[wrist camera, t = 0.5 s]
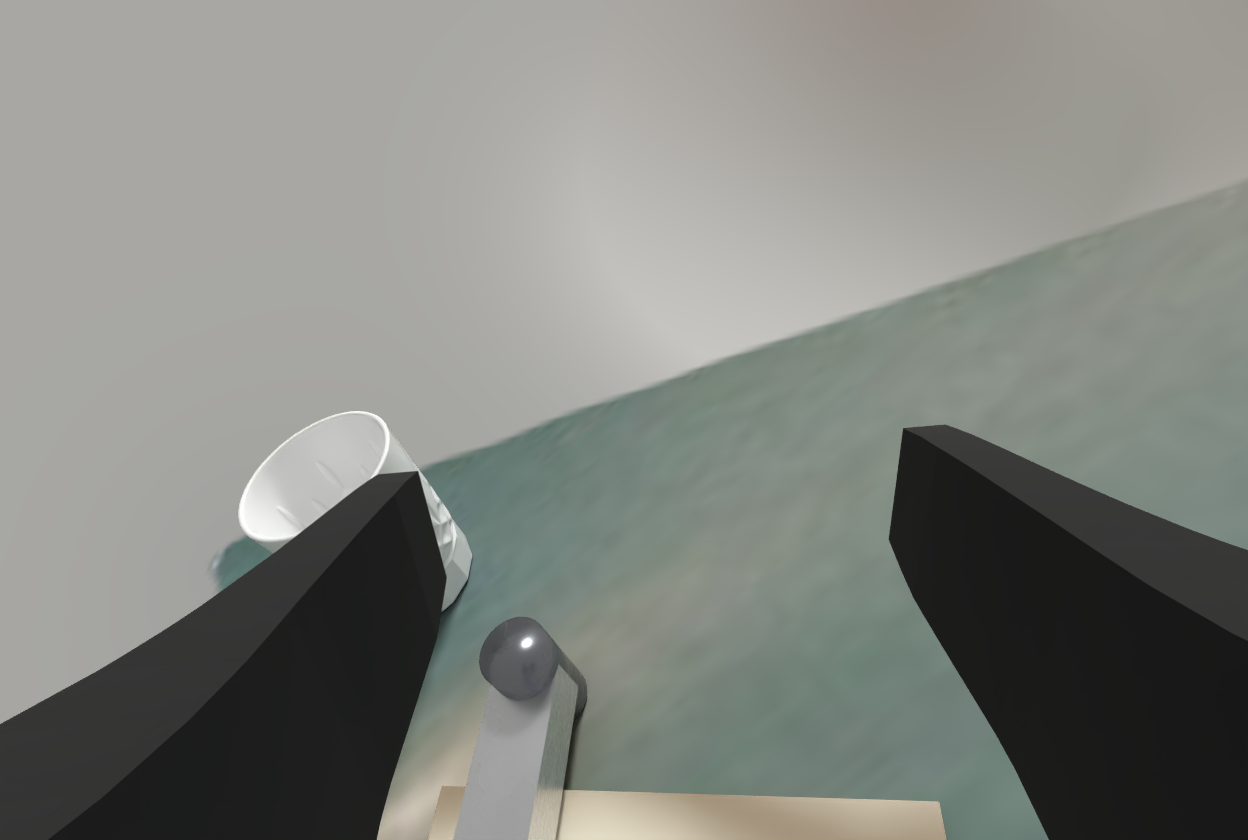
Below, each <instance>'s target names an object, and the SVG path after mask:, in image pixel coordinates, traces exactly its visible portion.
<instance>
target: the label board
mask: <svg viewBox="0 0 1248 840" xmlns="http://www.w3.org/2000/svg"><path fill="white" fill-rule="evenodd" d="M465 788H466V787H453V786H442V788H441V792H440V796H439V799H438V803H437V807H436V811H435V815H434V818H433V822H432V826H431V830H430V834H429V837H428V840H453V838H454V834H455V830H456V826H457V822H458V817H459V813H460V809H461V805H462V801H463V797H464V793H465ZM555 840H946V835H945V830H944V825H943V819H942V814H941V809H940V804H939V802H933V801H901V800H869V799H837V798H805V797H773V796H741V795H709V794H677V793H645V792H613V791H581V790H563V792H562V799H561V806H560V812H559V819H558V826H557V832H556V839H555Z"/></svg>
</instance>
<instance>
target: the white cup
mask: <svg viewBox="0 0 1248 840" xmlns="http://www.w3.org/2000/svg"><path fill="white" fill-rule="evenodd" d="M410 471H418V472H419V476H420V479H421V483H422V487H423V491H424V494H425V498H426V502H427V505H428V509H429V513H430V516H431V520H432V524H433V528H434V531H435V535H436V539H437V542H438V546H439V550H440V553H441V557H442V561H443V565H444V568H445V572H446V576H447V580H446V587H445V593H444V600H443V606H442V612H443V611H444V610H445V609H446V608H447V607H448V606H450V605H451V604H452V603H453V602H454V601H455V599H456V597H457V596H458V594H459V593H460V591H461V589H462V588H463V586H464V585H465V583H466V581H467V580H468V577H469V571H470V566H471V560H472V553H471V550H470V548H469V545H468V542H467V539H466V537H465V535H464V534H463V533H462V531H461V530H460V529H459V527H458V526H457V525H456V523H455V522H454V521H453V519H452V518H451V516H450V514H449V512H448V510H447V509H446V507H445V506H444V504H443V503H442V501H441V500H440V499H439V498H438V496H437V495H436V493H435V491H434V490H433V488H432V487H431V485H430V484H429V482H428V481H427V479H426V478H425V477H424V475H423V474H422V473H421V471H420V470H419V469H418V467H417V466H416V465H415V463H414V462H413V460H412V459H411V458H410V456H409V455H408V454H407V452H406V451H405V450H404V448H403V447H402V446H401V444H400V443H399V442H398V440H397V439H396V437H395V436H394V435H393V433H392V432H391V431H390V429H389V428H388V426H387V425H386V424H385V422H384V421H383V420H382V419H381V418H380V417H378V416H376V415H374V414H372V413H368V412H362V411H353V412H345V413H341V414H336V415H333V416H330V417H327V418H324V419H322V420H320V421H317V422H315V423H313V424H312V425H310V426H308V427H306V428H304V429H303V430H301V431H299V432H298V433H296V434H295V435H293V436H292V437H291V438H289V439H288V440H287V441H285V442H284V443H283V444H281V445H280V446H279V447H278V448H277V449H276V450H275V451H274V452H273V453H272V454H270V455H269V456H268V458H267V459H266V460H265V461H264V462H263V463H262V464H261V466H260V467H259V468H258V469H257V470H256V472H255V473H254V475H253V476H252V478H251V479H250V481H249V482H248V484H247V486H246V488H245V490H244V492H243V495H242V497H241V500H240V504H239V511H238V519H239V524H240V526H241V528H242V530H243V532H244V533H245V534H246V535H247V536H248V537H250V538H251V539H253V540H254V541H255V542H257V543H258V544H260V545H261V546H262V547H264V548H265V549H267V550H268V551H269V552H271V553H272V554H273V553H275V552H276V551H277V550H279V549H280V548H281V547H282V546H284V545H285V544H286V543H288V542H289V541H290V540H291V539H293V538H294V537H295V536H297V535H298V534H299V533H300V532H302V531H303V530H304V529H306V528H307V527H308V526H309V525H311V524H312V523H313V522H315V521H316V520H317V519H318V518H320V517H321V516H322V515H323V514H325V513H326V512H327V511H328V510H330V509H331V508H332V507H334V506H335V505H336V504H337V503H339V502H340V501H341V500H343V499H344V498H345V497H346V496H348V495H349V494H350V493H352V492H353V491H354V490H356V489H357V488H358V487H360V486H361V485H362V484H364V483H365V482H367V481H368V480H370V479H371V478H373V477H374V476H376V475H378V474H387V473H399V472H410Z"/></svg>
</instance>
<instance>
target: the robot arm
mask: <svg viewBox="0 0 1248 840" xmlns="http://www.w3.org/2000/svg"><path fill="white" fill-rule="evenodd" d="M889 541H890V544H891V546H892V549H893V551H894V554H895V556H896V559H897V561H898V563H899V566H900V568H901V571H902V573H903V575H904V578H905V580H906V582H907V584H908V587H909V589H910V591H911V593H912V595H913V598H914V599H915V601H916V603H917V605H918V606H919V608H920V610H921V611H922V613H923V615H924V617H925V618H926V620H927V622H928V623H929V625H930V627H931V628H932V630H933V632H934V633H935V635H936V637H937V638H938V640H939V642H940V643H941V645H942V647H943V648H944V650H945V652H946V653H947V655H948V657H949V658H950V660H951V661H952V663H953V665H954V666H955V668H956V670H957V671H958V673H959V675H960V676H961V678H962V679H963V681H964V683H965V684H966V686H967V688H968V689H969V691H970V693H971V694H972V696H973V698H974V699H975V701H976V702H977V704H978V706H979V707H980V709H981V711H982V712H983V714H984V716H985V717H986V719H987V721H988V722H989V724H990V725H991V727H992V729H993V730H994V732H995V734H996V735H997V737H998V739H999V741H1000V743H1001V744H1002V746H1003V748H1004V750H1005V752H1006V754H1007V755H1008V757H1009V759H1010V761H1011V763H1012V764H1013V766H1014V768H1015V770H1016V772H1017V774H1018V776H1019V778H1020V780H1021V782H1022V785H1023V787H1024V789H1025V791H1026V793H1027V795H1028V797H1029V799H1030V801H1031V803H1032V805H1033V807H1034V809H1035V812H1036V814H1037V816H1038V818H1039V820H1040V822H1041V824H1042V826H1043V828H1044V830H1045V832H1046V834H1047V836H1048V839H1049V840H1248V550H1245V549H1243V548H1240V547H1237V546H1234V545H1231V544H1228V543H1225V542H1222V541H1219V540H1217V539H1214V538H1211V537H1209V536H1206V535H1203V534H1201V533H1198V532H1195V531H1192V530H1190V529H1187V528H1185V527H1182V526H1180V525H1177V524H1175V523H1172V522H1170V521H1167V520H1165V519H1162V518H1160V517H1157V516H1155V515H1152V514H1150V513H1148V512H1145V511H1143V510H1140V509H1138V508H1135V507H1133V506H1130V505H1128V504H1125V503H1123V502H1121V501H1118V500H1116V499H1114V498H1112V497H1109V496H1107V495H1105V494H1102V493H1100V492H1098V491H1095V490H1093V489H1091V488H1089V487H1086V486H1084V485H1082V484H1080V483H1077V482H1075V481H1073V480H1071V479H1069V478H1066V477H1064V476H1062V475H1060V474H1058V473H1055V472H1053V471H1051V470H1049V469H1047V468H1044V467H1042V466H1040V465H1038V464H1036V463H1034V462H1031V461H1029V460H1027V459H1025V458H1023V457H1021V456H1018V455H1016V454H1014V453H1012V452H1010V451H1008V450H1005V449H1003V448H1001V447H999V446H997V445H994V444H992V443H990V442H988V441H985V440H983V439H981V438H979V437H976V436H974V435H972V434H969V433H967V432H964V431H962V430H959V429H956V428H953V427H950V426H947V425H935V426H924V427H913V428H903V434H902V442H901V449H900V457H899V465H898V473H897V480H896V488H895V496H894V503H893V511H892V519H891V526H890V534H889ZM446 580H447V576H446V572H445V568H444V565H443V561H442V557H441V553H440V550H439V546H438V542H437V539H436V535H435V531H434V528H433V524H432V520H431V516H430V513H429V509H428V505H427V502H426V498H425V494H424V491H423V487H422V483H421V479H420V476H419V472H418V471H410V472H399V473H387V474H378V475H376V476H374V477H373V478H371V479H370V480H368V481H367V482H365V483H364V484H362V485H361V486H360V487H358V488H357V489H356V490H354V491H353V492H352V493H350V494H349V495H348V496H346V497H345V498H344V499H343V500H341V501H340V502H339V503H337V504H336V505H335V506H334V507H332V508H331V509H330V510H328V511H327V512H326V513H325V514H323V515H322V516H321V517H320V518H318V519H317V520H316V521H315V522H313V523H312V524H311V525H309V526H308V527H307V528H306V529H304V530H303V531H302V532H300V533H299V534H298V535H297V536H295V537H294V538H293V539H291V540H290V541H289V542H288V543H286V544H285V545H284V546H282V547H281V548H280V549H279V550H277V551H276V552H275V553H273V554H272V555H271V556H269V557H268V558H267V559H265V560H264V561H263V562H261V563H260V564H258V565H257V566H256V567H254V568H253V569H252V570H250V571H249V572H247V573H246V574H245V575H243V576H242V577H240V578H239V579H238V580H236V581H235V582H234V583H232V584H231V585H229V586H228V587H227V588H225V589H224V590H222V591H221V592H220V593H218V594H217V595H216V596H214V597H213V598H211V599H210V600H209V601H207V602H206V603H205V604H203V605H202V606H200V607H199V608H197V609H196V610H194V611H193V612H191V613H190V614H188V615H187V616H185V617H184V618H182V619H181V620H179V621H178V622H176V623H175V624H173V625H171V626H170V627H169V628H167V629H165V630H164V631H162V632H161V633H159V634H157V635H156V636H154V637H153V638H151V639H149V640H148V641H146V642H145V643H143V644H141V645H140V646H138V647H137V648H135V649H133V650H131V651H130V652H128V653H127V654H125V655H124V656H122V657H120V658H119V659H117V660H115V661H114V662H112V663H110V664H108V665H107V666H105V667H103V668H102V669H100V670H98V671H97V672H95V673H93V674H91V675H89V676H88V677H86V678H84V679H82V680H80V681H78V682H77V683H75V684H73V685H71V686H69V687H68V688H65V689H64V690H62V691H60V692H58V693H56V694H55V695H53V696H51V697H49V698H47V699H45V700H44V701H42V702H40V703H38V704H36V705H35V706H33V707H31V708H29V709H27V710H25V711H23V712H22V713H20V714H18V715H16V716H14V717H13V718H11V719H9V720H7V721H5V722H3V723H2V724H0V840H377V835H378V831H379V826H380V821H381V817H382V814H383V810H384V806H385V803H386V799H387V795H388V792H389V788H390V784H391V781H392V778H393V775H394V772H395V769H396V766H397V762H398V759H399V756H400V753H401V750H402V747H403V744H404V740H405V737H406V734H407V731H408V728H409V725H410V722H411V719H412V715H413V712H414V709H415V706H416V703H417V700H418V697H419V694H420V690H421V687H422V684H423V681H424V678H425V674H426V671H427V668H428V665H429V662H430V658H431V655H432V652H433V648H434V645H435V642H436V638H437V633H438V628H439V623H440V617H441V612H442V606H443V600H444V593H445V587H446Z"/></svg>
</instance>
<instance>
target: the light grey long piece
mask: <svg viewBox="0 0 1248 840" xmlns="http://www.w3.org/2000/svg"><path fill="white" fill-rule="evenodd" d="M479 664H480V670H481V673H482V675H483V676H484V678H485V679H486V680H487V681H488V682H489V683H490V684H491V685H490V689H489V693H488V697H487V701H486V705H485V710H484V714H483V718H482V722H481V726H480V730H479V734H478V739H477V743H476V747H475V751H474V755H473V759H472V763H471V768H470V772H469V776H468V780H467V784H466V788H465V793H464V797H463V801H462V805H461V809H460V813H459V817H458V822H457V826H456V830H455V834H454V838H453V840H555V839H556V832H557V826H558V819H559V812H560V806H561V799H562V792H563V786H564V779H565V772H566V766H567V759H568V753H569V746H570V739H571V733H572V726H573V721H574V720H575V719H576V718H577V717H578V716H579V714H580V713H581V711H582V709H583V707H584V705H585V702H586V698H587V685H586V681H585V679H584V677H583V675H582V674H581V673H580V671H579V670H578V669H577V668H576V667H575V665H574V664H573V663H572V662H571V661H570V659H569V658H568V657H567V656H566V655H565V653H564V652H563V651H562V650H561V649H560V648H559V646H558V645H557V644H556V643H555V642H554V640H553V639H552V638H551V637H550V636H549V634H548V633H547V632H546V631H545V630H544V628H543V627H542V626H541V625H540V624H539V623H538V622H537V621H535V620H534V619H531V618H528V617H516V618H512V619H509V620H507V621H505V622H503V623H501V624H500V625H498V626H497V627H496V628H495V629H494V630H493V631H492V632H491V633H490V634H489V636H488V637H487V638H486V640H485V642H484V644H483V646H482V649H481V652H480V659H479Z"/></svg>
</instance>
